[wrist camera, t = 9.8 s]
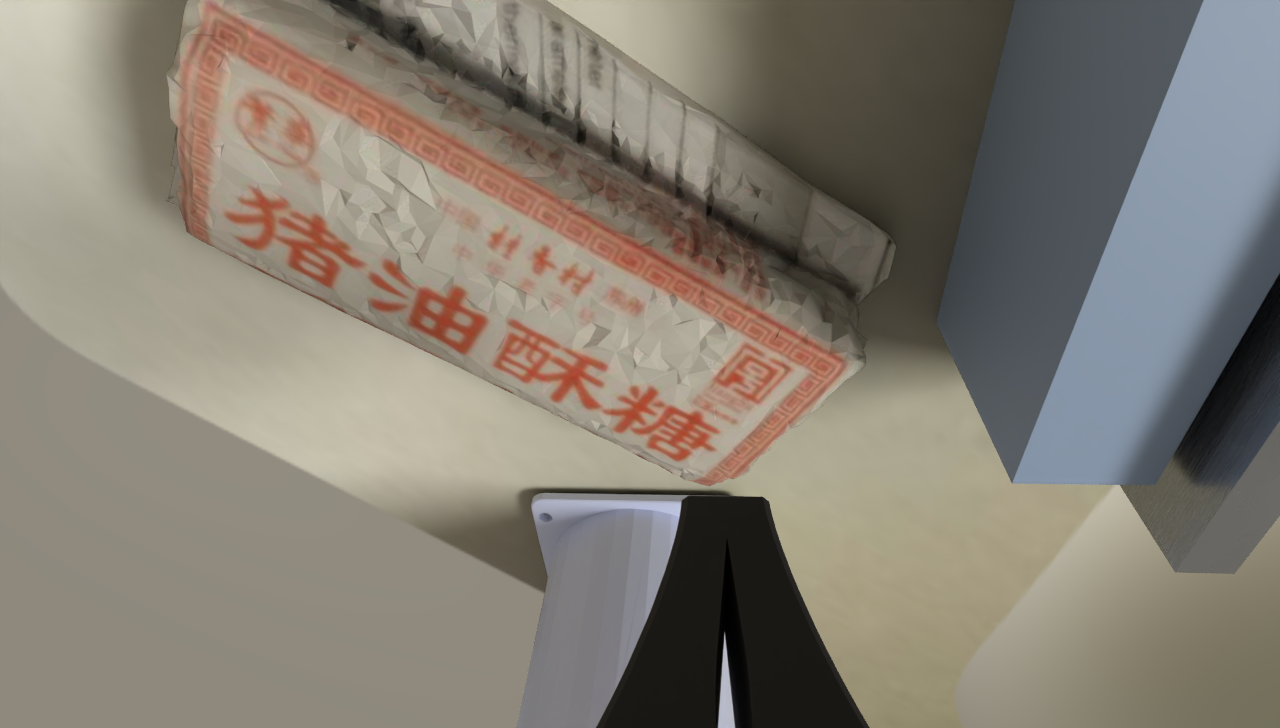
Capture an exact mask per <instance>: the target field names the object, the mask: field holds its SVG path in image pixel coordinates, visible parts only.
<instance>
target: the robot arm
mask: <svg viewBox="0 0 1280 728" xmlns="http://www.w3.org/2000/svg"><path fill="white" fill-rule="evenodd" d="M531 510H532V514H533V518H534V522H535V526H536V530H537V535H538V539H539V543H540V547H541V551H542V555H543V559H544V563H545V568H546V572H547V576H548V580H547V585H546V590H545V595H544V599H543V604H542V609H541V614H540V619H539V624H538V628H537V633H536V637H535V642H534V647H533V652H532V656H531V661H530V666H529V671H528V675H527V680H526V684H525V689H524V694H523V699H522V703H521V708H520V713H519V718H518V723H517V727H516V728H869V726H868V724H867V723H866V721H865V719H864V718H863V716H862V714H861V712H860V711H859V709H858V707H857V705H856V704H855V702H854V700H853V698H852V697H851V695H850V693H849V691H848V689H847V687H846V686H845V684H844V682H843V680H842V678H841V676H840V674H839V673H838V671H837V669H836V667H835V665H834V663H833V661H832V659H831V657H830V655H829V653H828V651H827V649H826V648H825V645H824V643H823V641H822V639H821V637H820V635H819V633H818V631H817V629H816V627H815V625H814V623H813V620H812V618H811V616H810V614H809V612H808V609H807V607H806V605H805V603H804V601H803V598H802V596H801V594H800V592H799V590H798V587H797V585H796V582H795V580H794V578H793V575H792V573H791V570H790V567H789V565H788V562H787V560H786V557H785V554H784V552H783V549H782V546H781V543H780V540H779V537H778V534H777V531H776V528H775V524H774V521H773V517H772V513H771V509H770V504H769V501H767V500H766V499H765V498H764V497H743V496H705V495H643V494H580V493H539V494H537V495H535V496H534V497H533V499H532V503H531ZM546 513H548V514H546Z"/></svg>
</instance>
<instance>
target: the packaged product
mask: <svg viewBox="0 0 1280 728" xmlns="http://www.w3.org/2000/svg"><path fill="white" fill-rule="evenodd" d="M166 76H167V81H168V87H169V107H170V119H171V120H172V121H173V122H174V124H175V125H176V126H177V128H176V134H175V146H174V152H173V158H172V164H171V166H173V167H175V168H176V169H175V173H174V177H173V181H172V185H171V189H170V194H169V198H168V200H166V201H168V202H171V203H174V204H176V205H179V207H180V210H181V213H182V216H183V219H184V222H185V225H186V230H187V232H188V233H190V234H191V235H193V236H194V237H196V238H198V239H199V240H201V241H203V242H205V243H207V244H209V245H211V246H213V247H215V248H217V249H219V250H221V251H223V252H225V253H227V254H229V255H231V256H233V257H234V258H236V259H238V260H240V261H242V262H244V263H246V264H248V265H249V266H251V267H253V268H255V269H257V270H259V271H261V272H263V273H265V274H267V275H269V276H271V277H274V278H276V279H278V280H280V281H282V282H284V283H286V284H288V285H290V286H292V287H294V288H296V289H298V290H300V291H302V292H304V293H306V294H308V295H310V296H312V297H314V298H317V299H319V300H321V301H323V302H325V303H327V304H328V305H330V306H332V307H334V308H336V309H338V310H340V311H342V312H344V313H346V314H348V315H351V316H353V317H355V318H357V319H359V320H361V321H363V322H366V323H368V324H370V325H372V326H374V327H376V328H378V329H380V330H383V331H385V332H387V333H389V334H391V335H393V336H395V337H397V338H399V339H402V340H404V341H406V342H408V343H410V344H412V345H414V346H416V347H418V348H419V349H422V350H424V351H426V352H428V353H430V354H432V355H435V356H437V357H439V358H441V359H443V360H445V361H447V362H449V363H451V364H453V365H456V366H458V367H460V368H462V369H464V370H466V371H468V372H470V373H472V374H474V375H476V376H478V377H480V378H482V379H484V380H486V381H488V382H490V383H492V384H494V385H496V386H498V387H500V388H502V389H504V390H506V391H508V392H510V393H513V394H515V395H517V396H518V397H520V398H522V399H524V400H526V401H528V402H530V403H533V404H535V405H537V406H540V407H542V408H544V409H546V410H548V411H550V412H551V413H552V414H555V415H557V416H560V417H562V418H563V419H565V420H567V421H569V422H571V423H573V424H575V425H578V426H580V427H582V428H584V429H586V430H588V431H590V432H591V433H593V434H595V435H598V436H600V437H602V438H604V439H607V440H609V441H611V442H613V443H616V444H618V445H620V446H621V447H623V448H625V449H626V450H628V451H630V452H632V453H634V454H636V455H638V456H639V457H641V458H643V459H645V460H647V461H649V462H652V463H654V464H657V465H659V466H661V467H662V468H664V469H666V470H667V471H669V472H671V473H673V474H674V475H677V476H680V477H682V478H683V479H685V480H689V481H693V482H696V483H699V484H703V485H707V486H711V485H713V484H716V483H718V482H723V481H724V480H726V479H727V478H731V479H734V478H737V477H740V476H743V475H745V474H746V473H747V472H748V471H749V470H750V469H751V467H752V466H753V464H754V462H755V461H756V460H757V459H758V458H759V457H760V456H761V455H762V454H764V453H765V452H766V451H767V450H769V449H770V448H771V446H772V445H773V444H774V443H775V442H776V441H777V440H778V439H779V438H780V437H781V436H782V435H783V434H784V433H786V432H787V430H789V429H790V428H793V427H796V426H799V425H800V424H801V423H802V422H803V421H804V420H805V419H806V418H807V417H808V416H809V415H810V414H811V413H812V412H813V411H815V410H816V409H818V408H820V407H821V406H823V405H824V402H825V400H826V398H827V397H828V396H829V395H830V394H831V393H833V392H834V391H835V390H836V389H837V388H838V387H840V386H841V385H842V384H843V383H844V382H845V381H846V380H847V379H849V378H850V377H851V376H853V375H854V374H856V373H857V372H859V371H860V370H861V369H863V367H864V366H865V365H866V356H865V353H864V350H863V349H864V346H865V344H866V341H867V339H866V338H865V337H864V336H862V335H861V334H860V333H859V332H858V331H857V329H858V319H859V309H858V305H859V304H860V303H861V302H862V301H863V300H864V299H865V298H866V297H867V296H868V295H869V294H870V293H871V292H872V291H873V290H874V289H875V288H876V287H877V286H878V285H879V284H880V283H881V282H882V281H884V280H885V279H887V278H888V277H889V273H890V270H891V266H892V262H893V258H894V254H895V250H896V245H895V243H894V241H893V239H892V238H891V236H889V235H888V234H887V233H886V232H885V231H883V230H882V229H880V228H879V227H877V226H876V225H875V224H873V223H872V222H870V221H869V220H867V219H866V218H864V217H863V216H861V215H859V214H858V213H856V212H855V211H853V210H851V209H850V208H848V207H847V206H845V205H843V204H842V203H840V202H839V201H837V200H835V199H834V198H832V197H830V196H829V195H827V194H826V193H824V192H822V191H821V190H819V189H817V188H815V187H814V186H812V185H810V184H809V183H808V182H806V181H805V180H804V179H802V178H801V177H799V176H798V175H797V174H795V173H794V172H793V171H791V170H790V169H789V168H787V167H786V166H785V165H783V164H782V163H780V162H779V161H778V160H776V159H775V158H774V157H772V156H771V155H770V154H768V153H767V152H766V151H764V150H763V149H761V148H760V147H759V146H757V145H756V144H755V143H753V142H752V141H751V140H749V139H748V138H747V137H745V136H744V135H742V134H741V133H740V132H738V131H737V130H736V129H734V128H733V127H732V126H730V125H729V124H728V123H726V122H725V121H723V120H722V119H721V118H719V117H718V116H716V115H715V114H714V113H712V112H711V111H709V110H707V109H705V108H704V107H702V106H701V105H699V104H698V103H696V102H695V101H693V100H692V99H690V98H689V97H688V96H686V95H685V94H683V93H682V92H680V91H679V90H677V89H676V88H674V87H673V86H671V85H670V84H669V83H667V82H666V81H664V80H663V79H661V78H660V77H658V76H657V75H655V74H654V73H652V72H651V71H650V70H648V69H647V68H645V67H644V66H642V65H641V64H639V63H638V62H636V61H635V60H633V59H632V58H631V57H629V56H628V55H626V54H625V53H624V52H622V51H621V50H619V49H618V48H616V47H615V46H614V45H612V44H611V43H609V42H608V41H607V40H605V39H604V38H602V37H601V36H599V35H598V34H596V33H595V32H593V31H592V30H590V29H589V28H587V27H586V26H584V25H583V24H581V23H580V22H578V21H577V20H575V19H574V18H572V17H571V16H569V15H568V14H566V13H565V12H563V11H562V10H560V9H559V8H557V7H556V6H554V5H553V4H551V3H550V2H548V1H547V0H188V1H187V4H186V6H185V10H184V15H183V21H182V27H181V31H180V36H179V40H178V44H177V49H176V53H175V58H174V61H173V63H172V65H171V66H170V68H169V70H168V72H167V73H166Z"/></svg>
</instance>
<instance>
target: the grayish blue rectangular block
mask: <svg viewBox="0 0 1280 728" xmlns="http://www.w3.org/2000/svg"><path fill="white" fill-rule="evenodd" d="M1279 273H1280V0H1015V2H1014V6H1013V11H1012V15H1011V19H1010V23H1009V27H1008V31H1007V35H1006V39H1005V43H1004V47H1003V51H1002V55H1001V60H1000V64H999V68H998V72H997V76H996V80H995V84H994V88H993V92H992V96H991V100H990V104H989V109H988V113H987V117H986V121H985V125H984V129H983V133H982V137H981V141H980V145H979V149H978V153H977V158H976V162H975V166H974V170H973V174H972V178H971V182H970V186H969V190H968V194H967V198H966V202H965V207H964V211H963V215H962V219H961V223H960V227H959V231H958V235H957V239H956V243H955V247H954V251H953V256H952V260H951V264H950V268H949V272H948V276H947V280H946V284H945V288H944V292H943V296H942V300H941V305H940V309H939V313H938V317H937V321H936V323H937V325H938V327H939V329H940V332H941V334H942V336H943V338H944V340H945V342H946V344H947V346H948V348H949V351H950V353H951V355H952V357H953V359H954V361H955V363H956V365H957V368H958V370H959V372H960V374H961V376H962V378H963V380H964V382H965V385H966V387H967V389H968V391H969V393H970V395H971V397H972V399H973V401H974V404H975V406H976V408H977V410H978V412H979V414H980V416H981V418H982V421H983V423H984V425H985V427H986V429H987V431H988V433H989V435H990V438H991V440H992V442H993V444H994V446H995V448H996V450H997V452H998V454H999V457H1000V459H1001V461H1002V463H1003V465H1004V467H1005V469H1006V471H1007V474H1008V476H1009V478H1010V480H1011V482H1012V483H1023V484H1099V485H1156V483H1157V482H1158V480H1159V478H1160V476H1161V475H1162V473H1163V471H1164V470H1165V468H1166V466H1167V464H1168V463H1169V461H1170V459H1171V458H1172V456H1173V454H1174V453H1175V451H1176V449H1177V447H1178V446H1179V444H1180V442H1181V441H1182V439H1183V437H1184V435H1185V434H1186V432H1187V430H1188V429H1189V427H1190V425H1191V424H1192V422H1193V420H1194V418H1195V417H1196V415H1197V413H1198V412H1199V410H1200V408H1201V406H1202V405H1203V403H1204V401H1205V400H1206V398H1207V396H1208V395H1209V393H1210V391H1211V389H1212V388H1213V386H1214V384H1215V383H1216V381H1217V379H1218V377H1219V376H1220V374H1221V372H1222V371H1223V369H1224V367H1225V365H1226V364H1227V362H1228V360H1229V359H1230V357H1231V355H1232V354H1233V352H1234V350H1235V348H1236V347H1237V345H1238V343H1239V342H1240V340H1241V338H1242V336H1243V335H1244V333H1245V331H1246V330H1247V328H1248V326H1249V325H1250V323H1251V321H1252V319H1253V318H1254V316H1255V314H1256V313H1257V311H1258V309H1259V307H1260V306H1261V304H1262V302H1263V301H1264V299H1265V297H1266V296H1267V294H1268V292H1269V290H1270V289H1271V287H1272V285H1273V284H1274V282H1275V280H1276V278H1277V277H1278V275H1279Z"/></svg>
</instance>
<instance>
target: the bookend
mask: <svg viewBox="0 0 1280 728" xmlns="http://www.w3.org/2000/svg"><path fill="white" fill-rule="evenodd" d="M1120 486H1121V488H1122V489H1123V491H1124V492H1125V494H1126V496H1127V497H1128V499H1129V500H1130V502H1131V503H1132V505H1133V507H1134V508H1135V510H1136V511H1137V513H1138V514H1139V516H1140V517H1141V519H1142V521H1143V522H1144V524H1145V525H1146V527H1147V529H1148V530H1149V532H1150V533H1151V535H1152V536H1153V538H1154V540H1155V541H1156V543H1157V544H1158V546H1159V547H1160V549H1161V551H1162V552H1163V554H1164V555H1165V557H1166V558H1167V560H1168V561H1169V563H1170V565H1171V566H1172V568H1173V569H1174V571H1175V572H1186V573H1226V574H1227V573H1228V574H1234V573H1235V572H1236V571H1237V570H1238V568H1239V567H1240V566H1241V565H1242V563H1243V562H1244V561H1245V560H1246V558H1247V557H1248V556H1249V554H1250V553H1251V552H1252V550H1253V549H1254V548H1255V547H1256V545H1257V544H1258V543H1259V542H1260V540H1261V539H1262V538H1263V537H1264V535H1265V534H1266V533H1267V531H1268V530H1269V529H1270V527H1271V526H1272V525H1273V524H1274V522H1275V521H1276V520H1277V518H1278V517H1279V516H1280V273H1279V275H1278V277H1277V278H1276V280H1275V282H1274V284H1273V285H1272V287H1271V289H1270V290H1269V292H1268V294H1267V296H1266V297H1265V299H1264V301H1263V302H1262V304H1261V306H1260V307H1259V309H1258V311H1257V313H1256V314H1255V316H1254V318H1253V319H1252V321H1251V323H1250V325H1249V326H1248V328H1247V330H1246V331H1245V333H1244V335H1243V336H1242V338H1241V340H1240V342H1239V343H1238V345H1237V347H1236V348H1235V350H1234V352H1233V354H1232V355H1231V357H1230V359H1229V360H1228V362H1227V364H1226V365H1225V367H1224V369H1223V371H1222V372H1221V374H1220V376H1219V377H1218V379H1217V381H1216V383H1215V384H1214V386H1213V388H1212V389H1211V391H1210V393H1209V395H1208V396H1207V398H1206V400H1205V401H1204V403H1203V405H1202V406H1201V408H1200V410H1199V412H1198V413H1197V415H1196V417H1195V418H1194V420H1193V422H1192V424H1191V425H1190V427H1189V429H1188V430H1187V432H1186V434H1185V435H1184V437H1183V439H1182V441H1181V442H1180V444H1179V446H1178V447H1177V449H1176V451H1175V453H1174V454H1173V456H1172V458H1171V459H1170V461H1169V463H1168V464H1167V466H1166V468H1165V470H1164V471H1163V473H1162V475H1161V476H1160V478H1159V480H1158V482H1157V483H1156V485H1120Z"/></svg>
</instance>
